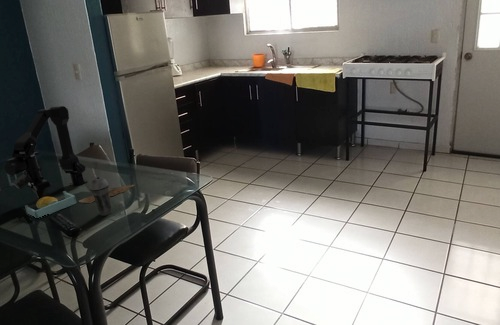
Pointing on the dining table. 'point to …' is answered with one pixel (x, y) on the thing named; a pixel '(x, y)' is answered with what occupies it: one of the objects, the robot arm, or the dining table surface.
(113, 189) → the brown carved slab
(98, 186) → the beverage cup
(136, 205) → the dining table surface
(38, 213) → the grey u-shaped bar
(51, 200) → the bread roll
